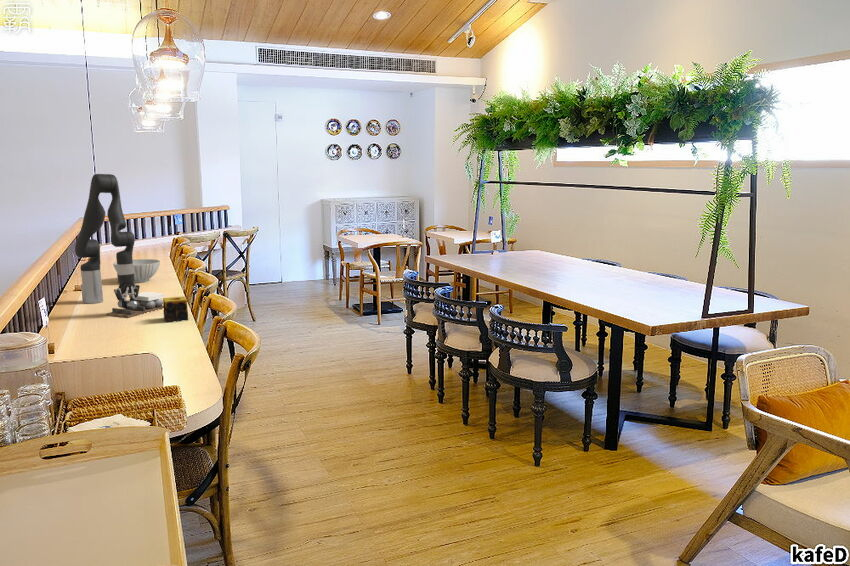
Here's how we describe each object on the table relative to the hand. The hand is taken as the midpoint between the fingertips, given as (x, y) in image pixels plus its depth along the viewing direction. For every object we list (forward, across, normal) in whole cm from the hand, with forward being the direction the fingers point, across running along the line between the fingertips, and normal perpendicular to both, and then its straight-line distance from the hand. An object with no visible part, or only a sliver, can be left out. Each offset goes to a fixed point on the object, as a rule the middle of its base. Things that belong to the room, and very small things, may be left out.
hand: (128, 307), depth 318 cm
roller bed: (+3, -5, 0) cm, 6 cm away
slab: (-2, -12, 0) cm, 12 cm away
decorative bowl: (+4, -69, -68) cm, 97 cm away
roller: (+1, 0, 0) cm, 1 cm away
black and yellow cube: (+4, 0, +30) cm, 30 cm away
